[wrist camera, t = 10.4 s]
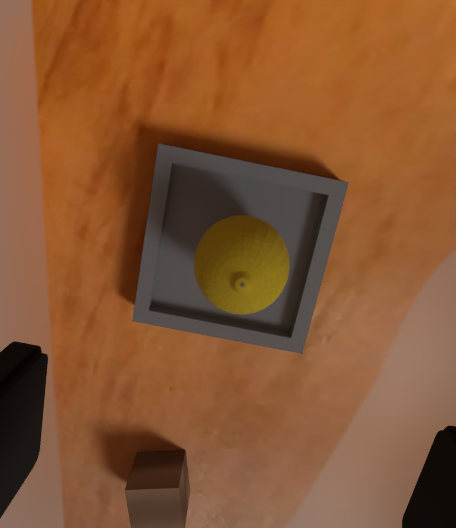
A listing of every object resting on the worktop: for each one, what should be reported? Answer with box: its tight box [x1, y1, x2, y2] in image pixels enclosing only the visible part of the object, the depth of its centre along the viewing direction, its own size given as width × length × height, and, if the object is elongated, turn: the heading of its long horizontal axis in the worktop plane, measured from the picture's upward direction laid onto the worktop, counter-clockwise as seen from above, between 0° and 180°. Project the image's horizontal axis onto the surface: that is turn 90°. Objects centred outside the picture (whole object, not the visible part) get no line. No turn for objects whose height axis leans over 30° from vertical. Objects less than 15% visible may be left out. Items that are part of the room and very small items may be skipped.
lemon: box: [194, 215, 290, 315], centre depth 24 cm, size 6×6×8 cm
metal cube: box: [125, 450, 190, 528], centre depth 33 cm, size 4×4×4 cm
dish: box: [132, 143, 349, 354], centre depth 28 cm, size 12×12×2 cm
